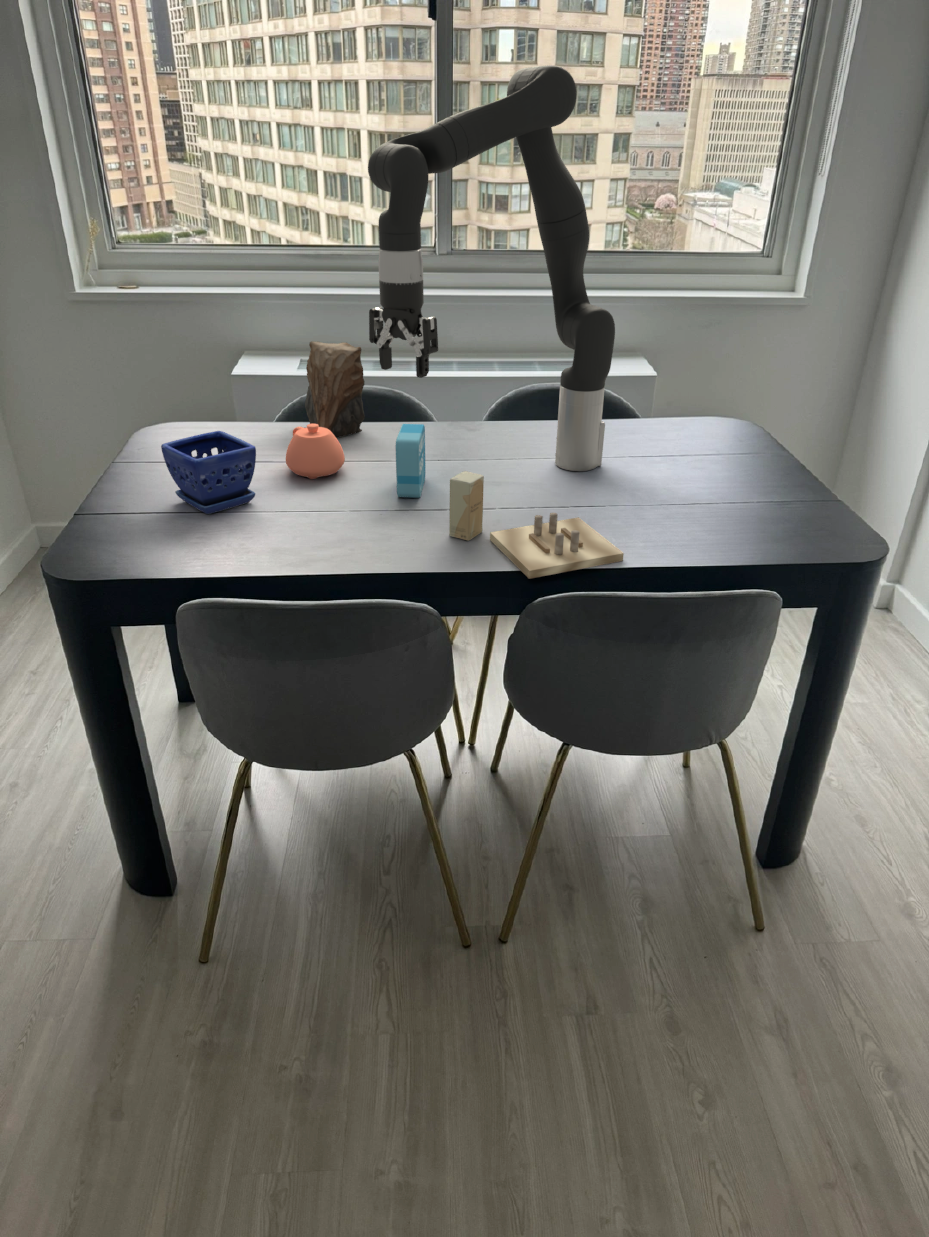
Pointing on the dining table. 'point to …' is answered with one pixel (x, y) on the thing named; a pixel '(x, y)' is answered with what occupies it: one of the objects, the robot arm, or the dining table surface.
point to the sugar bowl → (314, 452)
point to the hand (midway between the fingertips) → (403, 372)
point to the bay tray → (555, 546)
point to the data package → (410, 460)
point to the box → (466, 505)
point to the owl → (335, 387)
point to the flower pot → (211, 470)
